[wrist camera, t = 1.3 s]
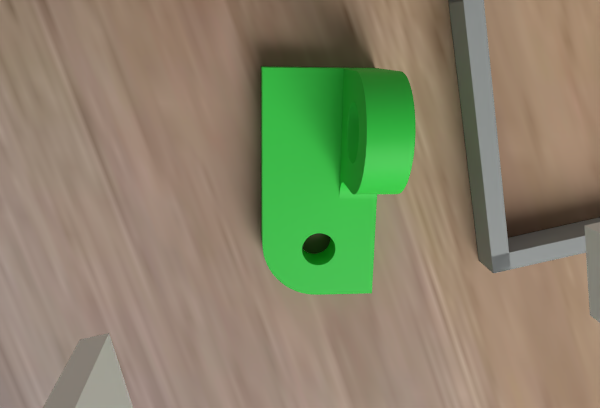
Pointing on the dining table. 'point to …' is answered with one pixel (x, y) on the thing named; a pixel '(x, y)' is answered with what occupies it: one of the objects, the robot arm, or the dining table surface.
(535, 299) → the dining table surface
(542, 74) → the dining table surface
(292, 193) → the mechanical part
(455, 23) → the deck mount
